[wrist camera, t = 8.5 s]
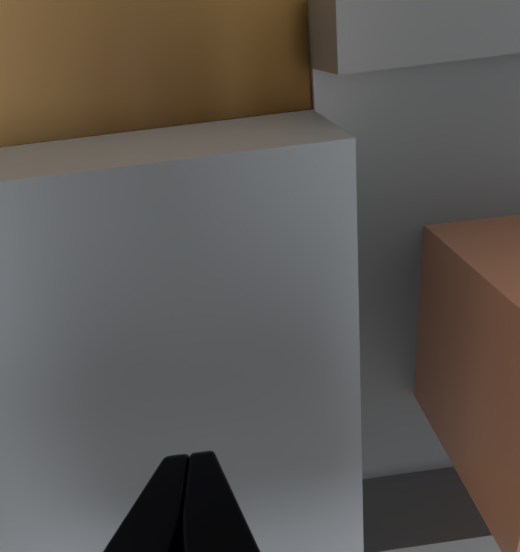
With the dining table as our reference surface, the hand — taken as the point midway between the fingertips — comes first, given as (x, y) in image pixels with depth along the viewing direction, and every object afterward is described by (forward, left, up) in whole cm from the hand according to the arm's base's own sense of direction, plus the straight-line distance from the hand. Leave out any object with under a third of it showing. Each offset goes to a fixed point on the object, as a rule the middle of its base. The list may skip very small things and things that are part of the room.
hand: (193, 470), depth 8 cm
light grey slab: (0, +3, -4) cm, 5 cm away
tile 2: (0, -6, -2) cm, 6 cm away
